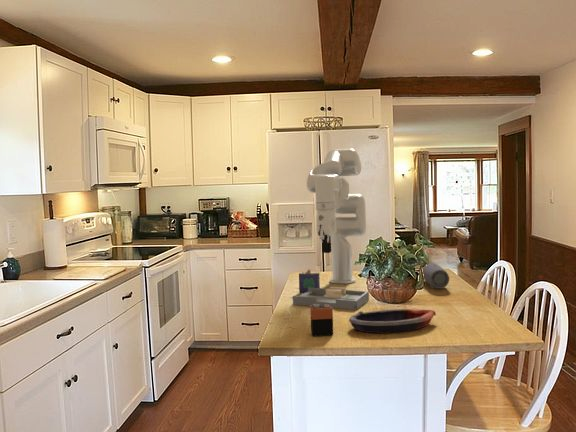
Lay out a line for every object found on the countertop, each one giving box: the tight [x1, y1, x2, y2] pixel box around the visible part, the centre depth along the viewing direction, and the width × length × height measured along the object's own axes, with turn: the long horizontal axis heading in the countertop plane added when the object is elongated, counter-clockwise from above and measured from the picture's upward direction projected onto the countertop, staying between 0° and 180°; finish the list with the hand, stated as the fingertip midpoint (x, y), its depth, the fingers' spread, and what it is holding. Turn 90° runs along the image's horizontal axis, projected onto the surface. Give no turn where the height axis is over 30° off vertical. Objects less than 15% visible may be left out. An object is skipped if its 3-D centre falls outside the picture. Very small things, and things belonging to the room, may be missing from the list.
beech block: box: [325, 286, 347, 298], centre depth 209 cm, size 6×6×3 cm
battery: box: [309, 304, 334, 337], centre depth 165 cm, size 4×7×10 cm, turn 95°
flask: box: [298, 269, 321, 295], centre depth 225 cm, size 9×3×11 cm, turn 88°
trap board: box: [292, 287, 370, 311], centre depth 207 cm, size 16×27×4 cm, turn 64°
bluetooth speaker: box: [423, 261, 450, 289], centre depth 231 cm, size 23×9×10 cm, turn 178°
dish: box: [348, 308, 437, 334], centre depth 171 cm, size 16×31×5 cm, turn 99°
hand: (326, 252), depth 201 cm, fingers closed
